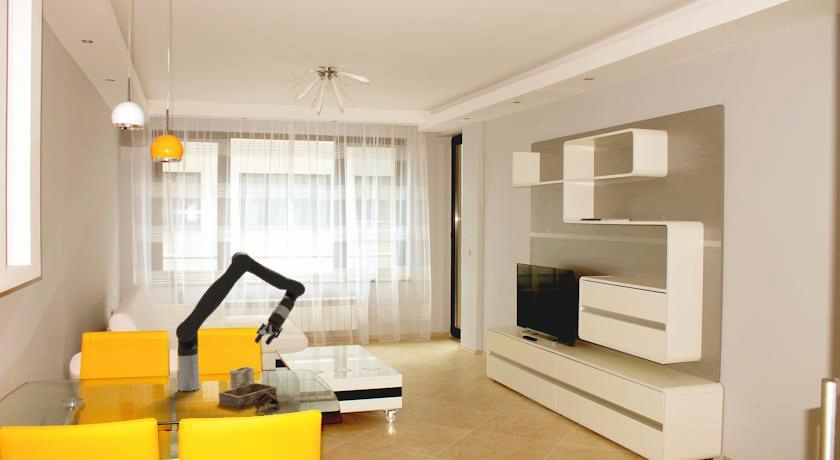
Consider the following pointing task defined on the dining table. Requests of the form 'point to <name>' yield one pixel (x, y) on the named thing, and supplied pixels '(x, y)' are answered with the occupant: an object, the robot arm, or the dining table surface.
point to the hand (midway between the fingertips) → (261, 343)
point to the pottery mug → (267, 400)
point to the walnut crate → (244, 395)
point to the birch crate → (241, 377)
